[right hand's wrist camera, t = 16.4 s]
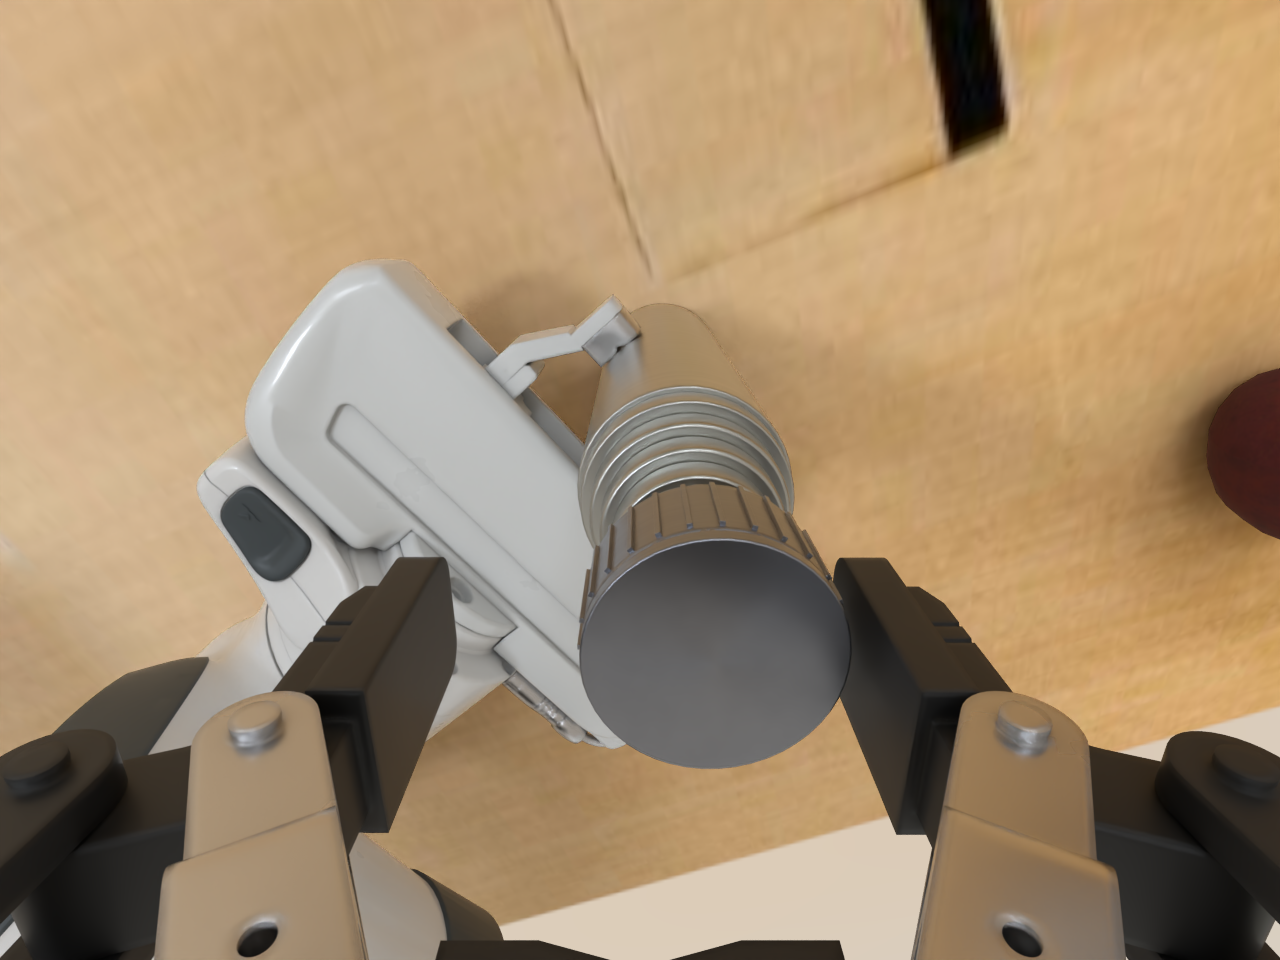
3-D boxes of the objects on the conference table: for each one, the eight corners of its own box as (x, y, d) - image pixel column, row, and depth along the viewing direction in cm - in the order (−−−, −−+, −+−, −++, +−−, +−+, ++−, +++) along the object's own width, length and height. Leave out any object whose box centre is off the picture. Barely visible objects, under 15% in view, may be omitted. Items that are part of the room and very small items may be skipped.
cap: (687, 723, 13) (696, 814, 11) (536, 579, 12) (516, 651, 10) (865, 598, 12) (911, 673, 10) (719, 429, 11) (738, 476, 9)
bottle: (582, 366, 31) (476, 656, 10) (656, 278, 30) (703, 414, 9) (665, 436, 32) (718, 823, 12) (740, 355, 31) (949, 628, 10)
